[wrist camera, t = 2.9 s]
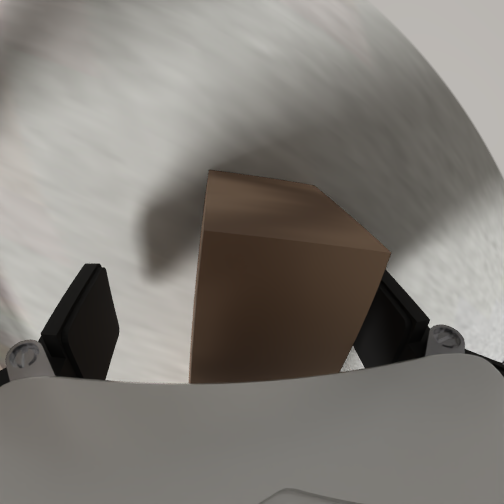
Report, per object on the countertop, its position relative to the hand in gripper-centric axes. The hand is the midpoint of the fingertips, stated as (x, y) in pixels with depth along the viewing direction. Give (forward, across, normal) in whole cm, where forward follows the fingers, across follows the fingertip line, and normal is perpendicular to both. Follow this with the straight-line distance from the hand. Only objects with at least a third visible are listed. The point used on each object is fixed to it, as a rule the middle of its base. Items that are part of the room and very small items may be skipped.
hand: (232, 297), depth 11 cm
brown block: (+2, 0, +5) cm, 5 cm away
